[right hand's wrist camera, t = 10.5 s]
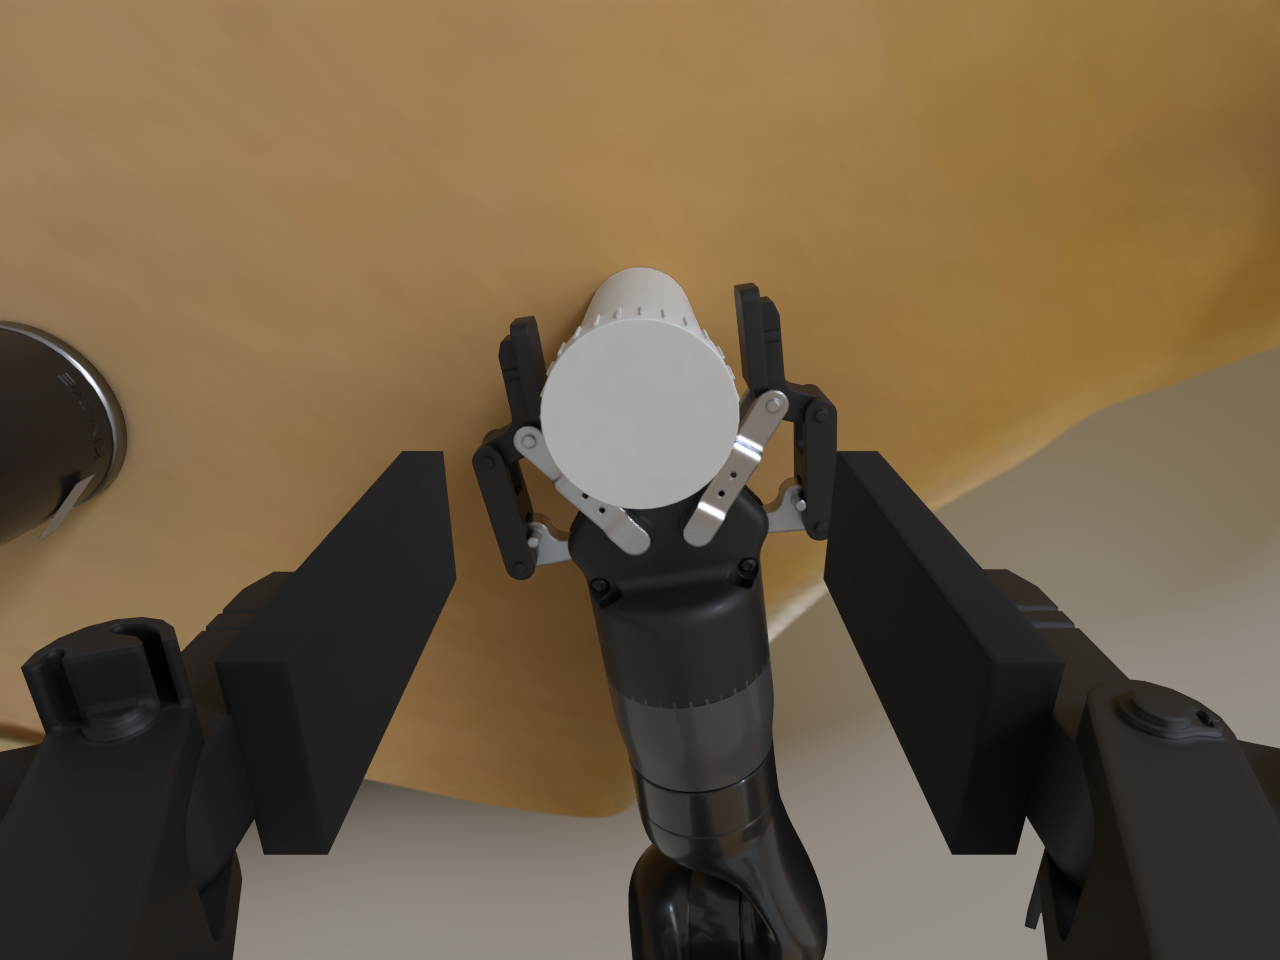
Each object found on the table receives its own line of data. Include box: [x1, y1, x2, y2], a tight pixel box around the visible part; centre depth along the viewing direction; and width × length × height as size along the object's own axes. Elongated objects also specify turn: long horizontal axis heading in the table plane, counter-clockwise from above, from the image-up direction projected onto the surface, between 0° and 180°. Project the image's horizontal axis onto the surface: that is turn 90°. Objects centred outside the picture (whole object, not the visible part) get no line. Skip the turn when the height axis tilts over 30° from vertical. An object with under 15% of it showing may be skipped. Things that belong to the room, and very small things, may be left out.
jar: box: [580, 267, 701, 330], centre depth 28 cm, size 5×5×15 cm
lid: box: [540, 305, 740, 509], centre depth 21 cm, size 6×6×2 cm
